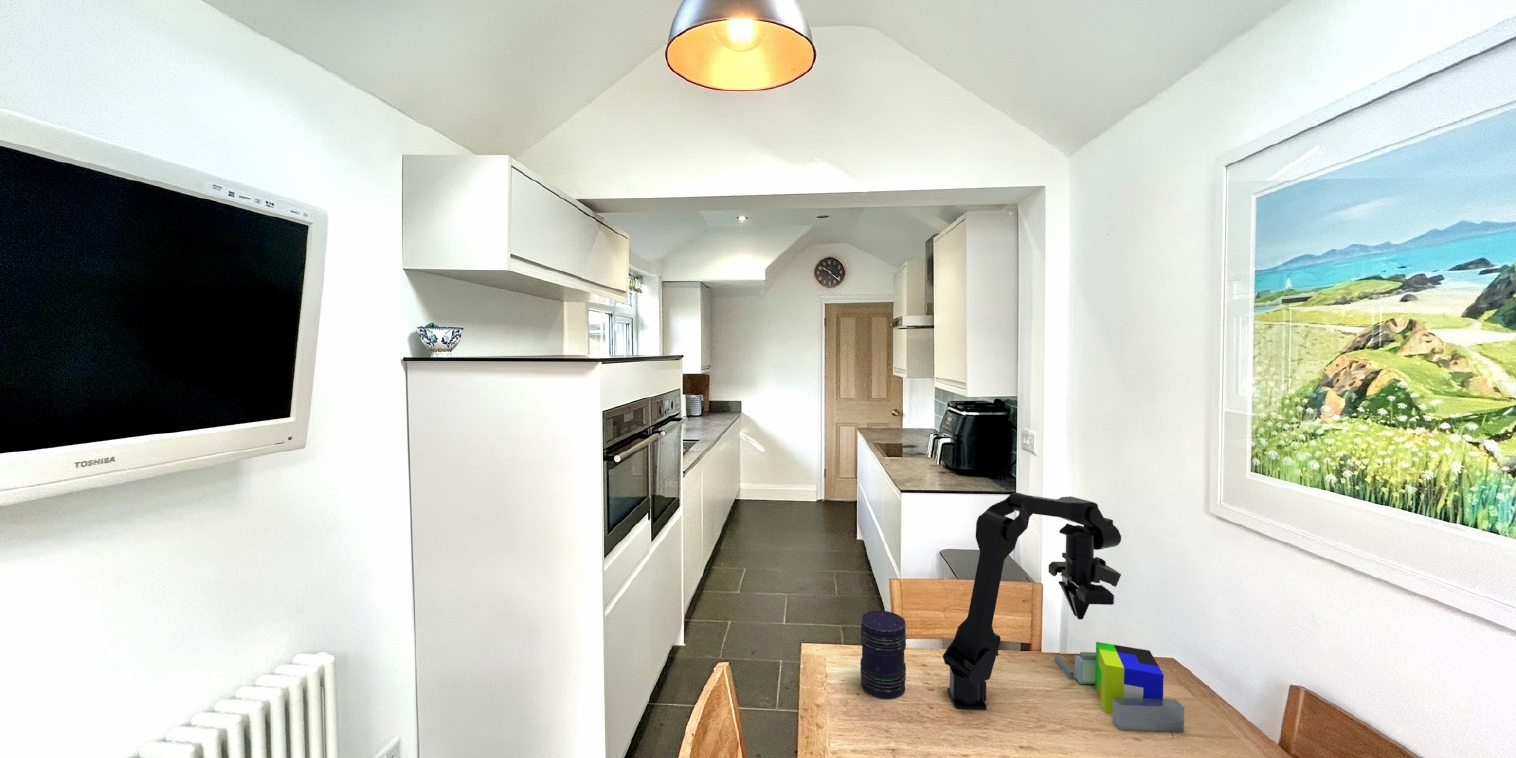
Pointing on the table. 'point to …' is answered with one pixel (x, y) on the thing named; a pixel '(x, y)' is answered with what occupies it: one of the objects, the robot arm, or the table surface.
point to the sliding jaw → (1085, 667)
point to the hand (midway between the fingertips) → (1078, 617)
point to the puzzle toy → (1126, 674)
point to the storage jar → (883, 654)
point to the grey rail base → (1142, 711)
